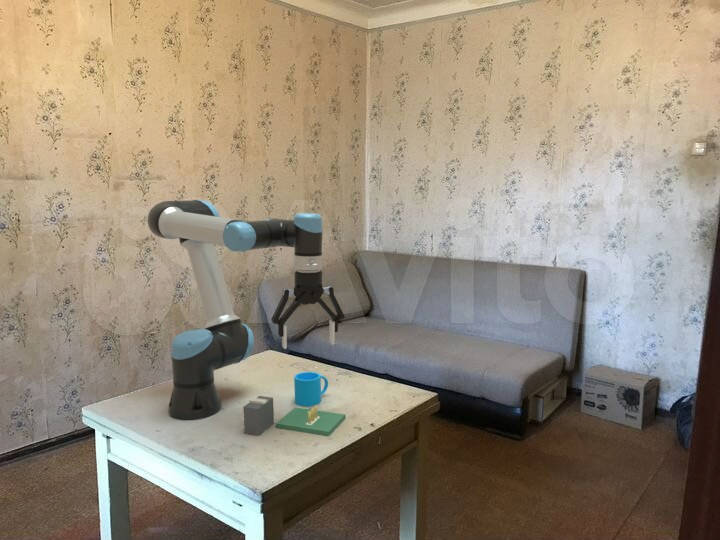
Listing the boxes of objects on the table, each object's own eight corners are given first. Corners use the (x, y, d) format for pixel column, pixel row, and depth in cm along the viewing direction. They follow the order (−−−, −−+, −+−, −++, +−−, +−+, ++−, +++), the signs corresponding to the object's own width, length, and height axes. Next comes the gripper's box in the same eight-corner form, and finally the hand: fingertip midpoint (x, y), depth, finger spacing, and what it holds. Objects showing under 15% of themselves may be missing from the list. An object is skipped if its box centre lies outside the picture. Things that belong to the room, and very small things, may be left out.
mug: (305, 408, 164) (304, 382, 163) (289, 401, 170) (289, 376, 169) (335, 398, 172) (335, 373, 171) (320, 391, 178) (319, 367, 177)
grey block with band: (244, 433, 147) (243, 404, 146) (260, 421, 155) (259, 393, 154) (258, 435, 146) (257, 406, 145) (274, 423, 154) (273, 395, 152)
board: (275, 427, 151) (275, 411, 150) (295, 411, 162) (295, 396, 161) (328, 435, 145) (328, 419, 145) (345, 418, 157) (345, 402, 156)
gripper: (265, 274, 141) (266, 353, 144) (356, 270, 149) (355, 345, 152) (260, 270, 148) (261, 345, 151) (347, 266, 156) (346, 338, 159)
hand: (308, 345), depth 152 cm, fingers open, 13 cm apart
